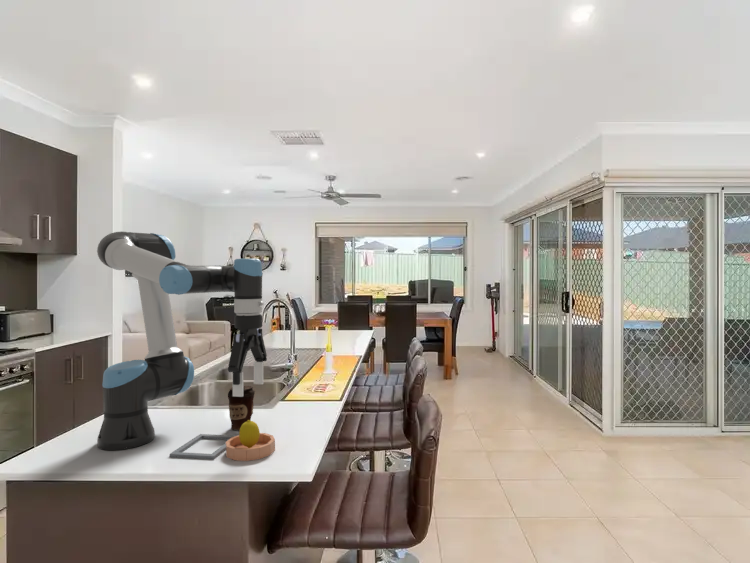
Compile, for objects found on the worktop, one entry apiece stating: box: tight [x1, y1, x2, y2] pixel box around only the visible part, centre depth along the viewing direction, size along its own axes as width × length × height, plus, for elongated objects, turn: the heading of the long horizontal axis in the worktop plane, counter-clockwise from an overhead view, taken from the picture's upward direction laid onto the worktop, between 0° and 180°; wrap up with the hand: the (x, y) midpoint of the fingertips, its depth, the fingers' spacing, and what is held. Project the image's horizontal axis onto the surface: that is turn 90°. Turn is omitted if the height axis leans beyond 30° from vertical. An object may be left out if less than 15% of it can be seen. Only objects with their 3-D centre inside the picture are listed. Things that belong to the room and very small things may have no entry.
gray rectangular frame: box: [169, 433, 236, 460], centre depth 134 cm, size 13×16×1 cm
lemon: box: [238, 420, 261, 448], centre depth 130 cm, size 6×6×8 cm
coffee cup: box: [227, 385, 256, 431], centre depth 151 cm, size 9×8×13 cm
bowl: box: [225, 432, 276, 462], centre depth 130 cm, size 13×13×3 cm
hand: (248, 389), depth 130 cm, fingers open, 13 cm apart
